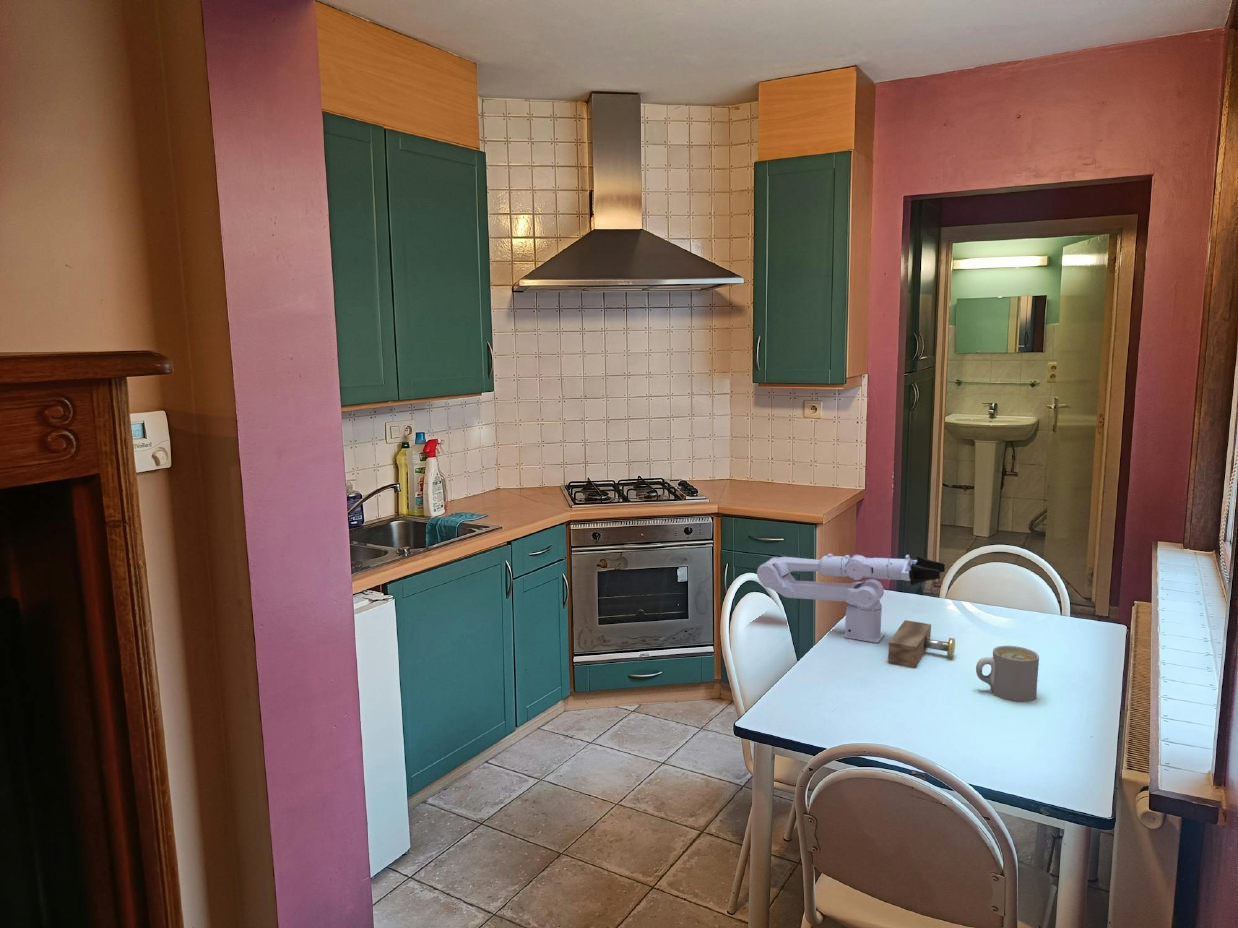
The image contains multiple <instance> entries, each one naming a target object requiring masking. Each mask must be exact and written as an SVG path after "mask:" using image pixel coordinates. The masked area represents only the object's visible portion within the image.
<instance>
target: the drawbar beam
mask: <svg viewBox="0 0 1238 928" xmlns="http://www.w3.org/2000/svg"><path fill="white" fill-rule="evenodd" d="M931 633H932V624H931V623H925V622H920V621H919V622H918V621H912V620H907V619H905V620H904V621H903V622H902V623H901V625H900V627H899V628H898V629H897V630H896V631H895V633H894V635H892V637H891V639H890V640H889V641H888V653H887V663H888V664H891V665H897V666H898V665H899V666H904V667H907V668H913V669H917V668H918V665H919V664H920V662H921V660H922V658H923V656H924V655H925V653H926V651H927V649H928V648H924V638H926V639H931Z"/></svg>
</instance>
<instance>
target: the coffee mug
mask: <svg viewBox="0 0 1238 928" xmlns="http://www.w3.org/2000/svg"><path fill="white" fill-rule="evenodd" d="M1039 660H1040V655H1039V654H1038V653H1037V652H1036V651H1034V650H1031V649H1029V648H1026V647H1022V646H1015V645H998V646H996V647H994V648H993V650H992V657H991V656H990V657H988V656H987V657H982V658H980V659H978V661H977V662H976V665H975V666H976V667H975V670H976V671H975V672H976V676H977V678H978V679H979V680H980V681H982V682H983V683H986V684H988V685H989V686H990V692H991V694H992V695H994V696H996V697H998V698H999V699H1003V700H1006V701H1011V702H1016V703H1018V702H1019V703H1026V702H1031V701H1034V700H1036V698H1037V691H1038V690H1037V689H1038V677H1039V674H1038V673H1039V663H1040V661H1039ZM986 665H990V667H991V669H990V672H989V674H987V675H984V674H983V668H984V667H985V666H986Z"/></svg>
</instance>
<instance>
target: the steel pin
mask: <svg viewBox="0 0 1238 928" xmlns="http://www.w3.org/2000/svg"><path fill="white" fill-rule="evenodd" d="M924 648H927V649H931V650H938V651H943V652H946V653H947V657H951V658H953V657H954V656H955V651H956V650H955V649H956V638H953V637H949V638H948V641H944V640H937V639H931V638H930V639H926V638H924Z"/></svg>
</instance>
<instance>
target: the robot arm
mask: <svg viewBox="0 0 1238 928" xmlns="http://www.w3.org/2000/svg"><path fill="white" fill-rule="evenodd" d="M945 566H946V564H945V563H943V562H938V561H934V560H931V559H928V558H926V557H925V556H923V555H917V556H916V559H911V558H910V554H906V555H905V558H889V557H865V556H864V555H861V554H853V555H852V556H851V557H850V555H849V554H845V556H843V555H842V556H839V555H834V554H833V553H828V554H827V555H824V556H822V557H821V558H820V559H811V558H801V557H792V556H791V557H790V556H780V557H779V556H773V557H771V558H769V560H767V561H766V562H764V563H762V564H760V565H759V566H758V568H757V569H756V576H757V578H758V580H759V582H760V583H761V584H762V585H763V587H765V588H768V589H771V590H773V591H774V592H777V593H778V594H779V595H781V596H783V597H784V598H789V599H804V600H805V599H806V600H817V601H819V600H820V601H835V602H846V603H848V604H847V607H846V610H845V623H844V624H845V625H844V628H845V629H844V635H843V636H844V638H847V639H852V640H859V641H864V642H871V643H874V644H875V643H876V644H878V643H880V641H881V640H882V639H883V637H884V636H885V632H881V629H882V613H883V611H882V610H883V609H882V608H883V605H882V603H881V601H880V600H881V599H882V597H883V596H884V593H885V590H884V587H883V584H882V583H881V582H880V581H878V580H877V579H879V580H880V579H882V580H897V581H898V580H899V581H900V580H901V581H906V582H909V581H910V585H911V586H914V585H916V584H917V585H918V584H919V583H923V582H926V581H927V582H928V581H934V580H940V578H941V573H945V572H946V567H945ZM792 572H819V573H820V574H821V575H822V576H825V577H840V578H841V577H843V578H846V577H849V578H851V579H854V581H855V582H850V583H849V582H848V583H845V582H829V581H827V582H826V581H825V582H824V581H822V582H821V581H812V580H811V581H809V580H808V581H807V580H805V581H804V580H796V579H795V578H794V576H792V574H791V573H792ZM863 578H866V579H867V578H868V579H867V580H865V581H859V580H861V579H863ZM777 593H776V594H777Z"/></svg>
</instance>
